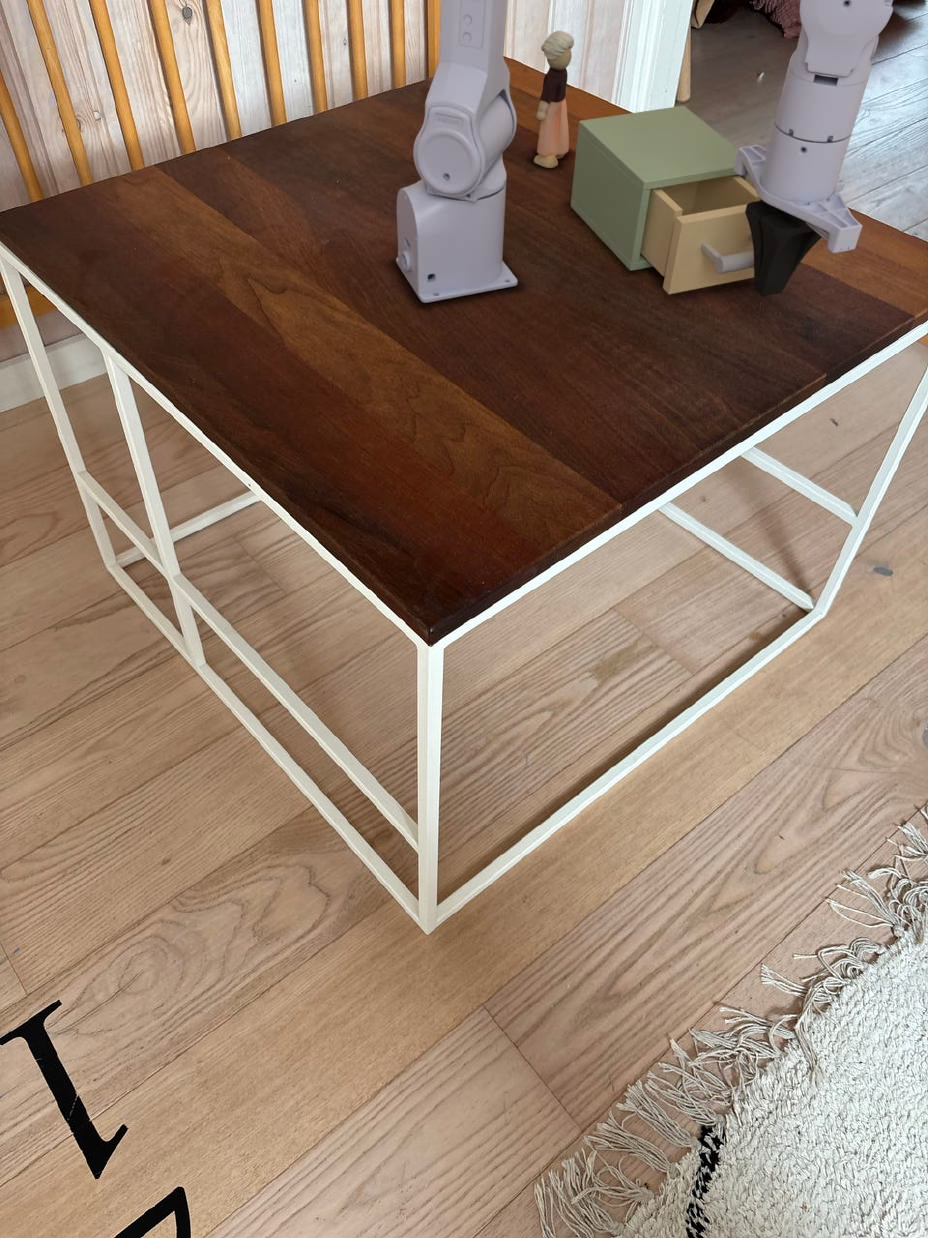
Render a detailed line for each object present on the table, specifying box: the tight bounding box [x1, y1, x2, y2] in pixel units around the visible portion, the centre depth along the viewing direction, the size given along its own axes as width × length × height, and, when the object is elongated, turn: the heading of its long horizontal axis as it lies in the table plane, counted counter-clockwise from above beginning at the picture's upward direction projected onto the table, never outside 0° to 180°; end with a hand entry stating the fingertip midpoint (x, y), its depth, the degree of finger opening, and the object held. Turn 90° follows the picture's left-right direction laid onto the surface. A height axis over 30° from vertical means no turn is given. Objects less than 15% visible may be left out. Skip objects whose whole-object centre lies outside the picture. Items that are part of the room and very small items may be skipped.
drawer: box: [640, 174, 761, 295], centre depth 92 cm, size 17×10×7 cm, turn 21°
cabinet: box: [570, 105, 753, 272], centre depth 97 cm, size 14×12×9 cm
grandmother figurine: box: [533, 30, 575, 169], centre depth 106 cm, size 8×4×13 cm, turn 168°
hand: (768, 290), depth 85 cm, fingers closed
